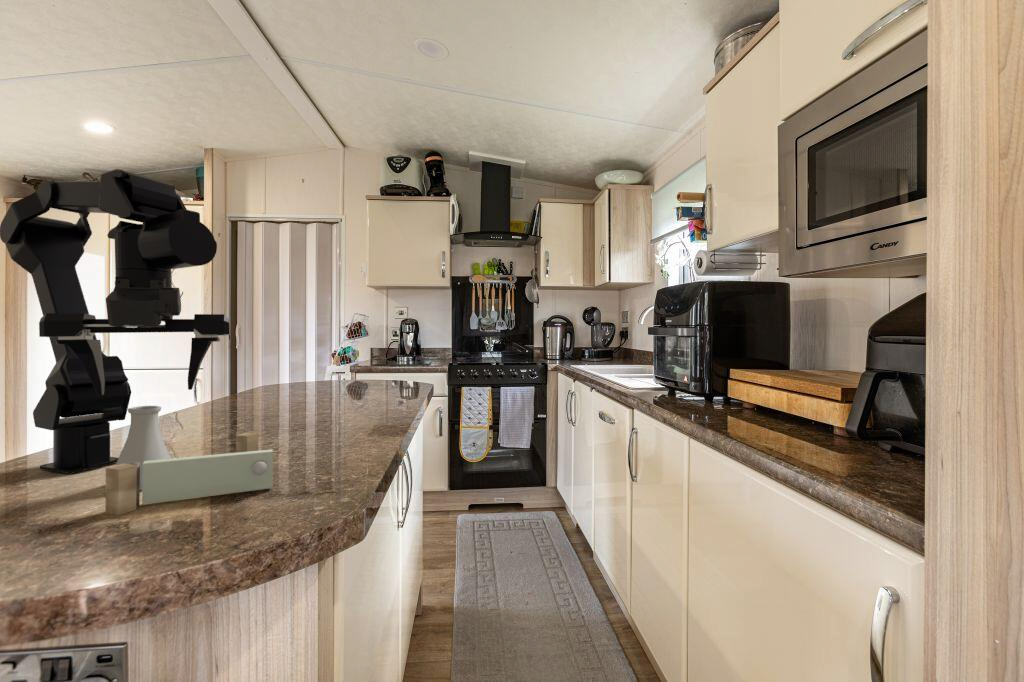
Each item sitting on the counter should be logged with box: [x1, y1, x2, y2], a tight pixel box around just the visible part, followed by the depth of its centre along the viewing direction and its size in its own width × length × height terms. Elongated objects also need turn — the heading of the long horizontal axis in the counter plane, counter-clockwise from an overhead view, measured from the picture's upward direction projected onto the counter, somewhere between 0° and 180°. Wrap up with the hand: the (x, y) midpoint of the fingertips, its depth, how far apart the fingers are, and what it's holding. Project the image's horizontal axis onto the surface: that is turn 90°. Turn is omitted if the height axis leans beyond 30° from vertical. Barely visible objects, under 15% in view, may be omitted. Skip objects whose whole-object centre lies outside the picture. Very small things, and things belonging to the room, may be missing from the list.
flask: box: [115, 405, 172, 491], centre depth 60 cm, size 7×7×10 cm
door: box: [141, 448, 274, 505], centre depth 55 cm, size 2×13×5 cm, turn 119°
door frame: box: [105, 431, 259, 516], centre depth 59 cm, size 2×19×5 cm, turn 164°
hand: (147, 392), depth 60 cm, fingers open, 9 cm apart
